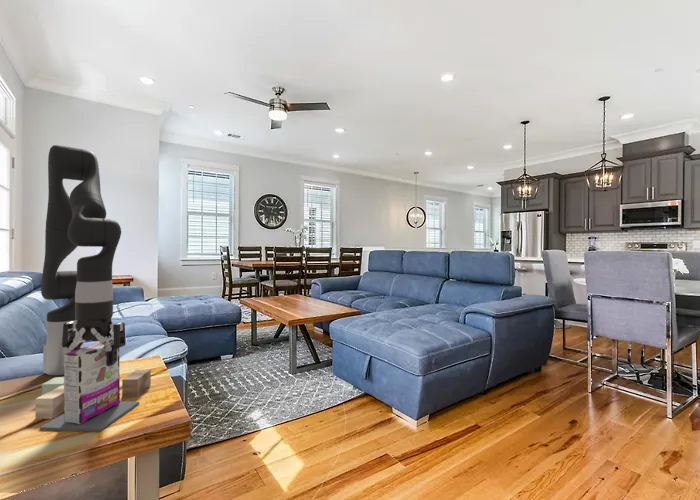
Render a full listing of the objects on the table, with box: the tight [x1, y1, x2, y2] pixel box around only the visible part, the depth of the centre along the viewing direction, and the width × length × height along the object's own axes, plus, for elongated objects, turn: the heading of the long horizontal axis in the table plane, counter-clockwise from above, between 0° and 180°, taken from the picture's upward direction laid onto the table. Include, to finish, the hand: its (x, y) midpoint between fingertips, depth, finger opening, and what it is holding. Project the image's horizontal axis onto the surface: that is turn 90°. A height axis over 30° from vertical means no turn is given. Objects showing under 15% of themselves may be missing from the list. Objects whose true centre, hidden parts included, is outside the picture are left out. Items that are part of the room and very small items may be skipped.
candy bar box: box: [63, 342, 121, 424], centre depth 86 cm, size 11×5×16 cm, turn 170°
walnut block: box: [121, 368, 152, 398], centre depth 100 cm, size 8×4×5 cm, turn 7°
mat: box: [39, 400, 140, 433], centre depth 85 cm, size 14×14×1 cm
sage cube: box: [41, 376, 64, 396], centre depth 95 cm, size 5×5×5 cm
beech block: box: [34, 385, 64, 420], centre depth 88 cm, size 8×4×5 cm, turn 2°
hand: (93, 364), depth 85 cm, fingers open, 8 cm apart
